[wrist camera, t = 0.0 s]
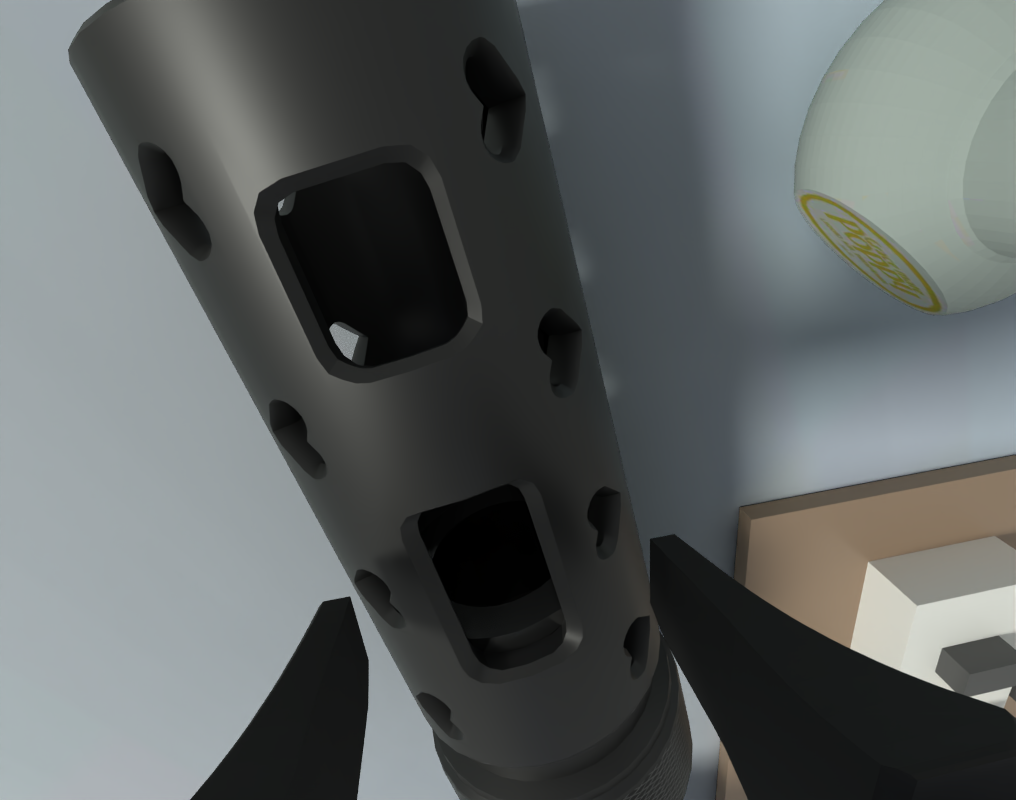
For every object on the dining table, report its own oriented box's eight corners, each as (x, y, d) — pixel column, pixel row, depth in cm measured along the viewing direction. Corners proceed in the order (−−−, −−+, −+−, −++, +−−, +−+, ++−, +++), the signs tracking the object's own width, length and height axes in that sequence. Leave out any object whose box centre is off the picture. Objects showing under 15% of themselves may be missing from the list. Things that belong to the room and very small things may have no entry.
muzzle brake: (480, 2, 17) (567, -169, 8) (640, 633, 29) (748, 859, 20) (177, 96, 17) (-104, 34, 8) (464, 693, 29) (491, 952, 20)
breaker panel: (983, 762, 40) (1066, 850, 35) (712, 830, 38) (759, 933, 33) (1111, 436, 29) (1257, 497, 24) (739, 507, 27) (815, 589, 22)
